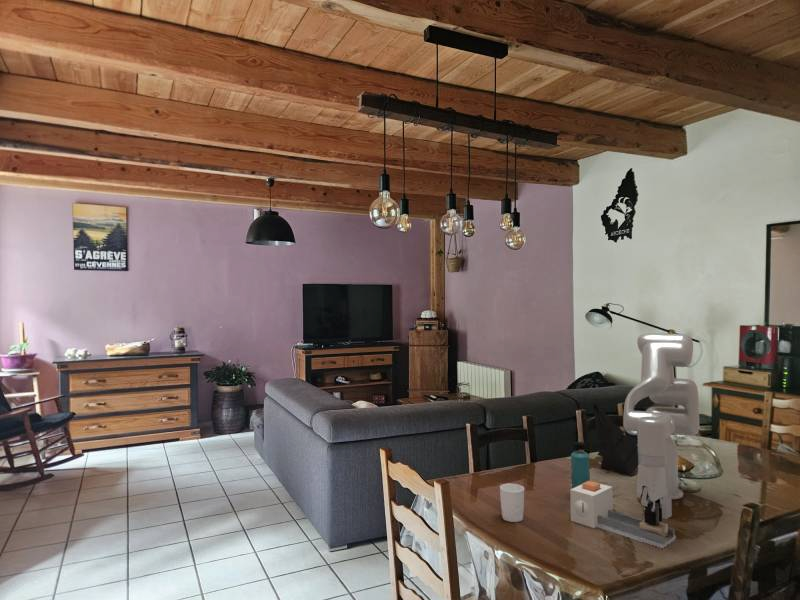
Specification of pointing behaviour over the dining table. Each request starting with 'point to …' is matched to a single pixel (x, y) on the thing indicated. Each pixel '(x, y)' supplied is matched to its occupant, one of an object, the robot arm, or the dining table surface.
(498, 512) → the dining table surface
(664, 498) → the light grey block
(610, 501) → the gauge cabinet
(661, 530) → the carriage
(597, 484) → the button
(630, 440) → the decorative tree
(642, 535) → the rail
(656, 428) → the robot arm
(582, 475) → the beverage bottle
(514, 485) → the white cup
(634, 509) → the dining table surface
